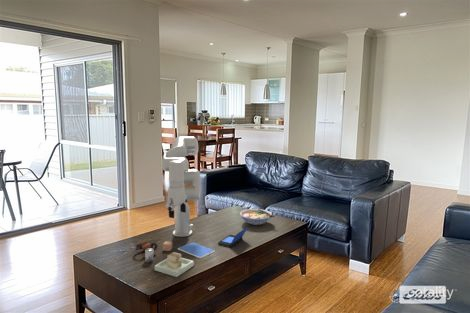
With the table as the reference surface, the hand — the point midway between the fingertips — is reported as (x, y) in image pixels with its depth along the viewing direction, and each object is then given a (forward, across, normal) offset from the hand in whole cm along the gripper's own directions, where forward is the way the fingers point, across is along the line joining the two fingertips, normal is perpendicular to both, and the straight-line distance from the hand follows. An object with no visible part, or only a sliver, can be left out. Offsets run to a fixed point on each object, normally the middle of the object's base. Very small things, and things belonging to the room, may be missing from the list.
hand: (177, 214), depth 178 cm
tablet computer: (+26, -12, +3) cm, 29 cm away
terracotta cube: (+25, -5, -12) cm, 28 cm away
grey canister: (+24, +11, -11) cm, 29 cm away
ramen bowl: (+27, -71, +13) cm, 77 cm away
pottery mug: (+25, +5, -18) cm, 31 cm away
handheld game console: (+26, -33, +16) cm, 45 cm away
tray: (+24, +11, +6) cm, 27 cm away
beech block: (+23, +11, +6) cm, 26 cm away
